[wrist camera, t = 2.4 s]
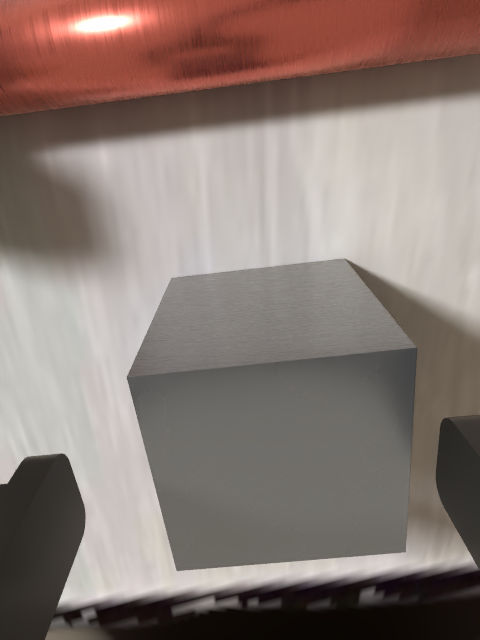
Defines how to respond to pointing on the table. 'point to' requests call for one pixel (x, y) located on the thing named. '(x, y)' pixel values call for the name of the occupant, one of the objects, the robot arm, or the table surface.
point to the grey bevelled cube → (277, 416)
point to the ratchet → (210, 44)
